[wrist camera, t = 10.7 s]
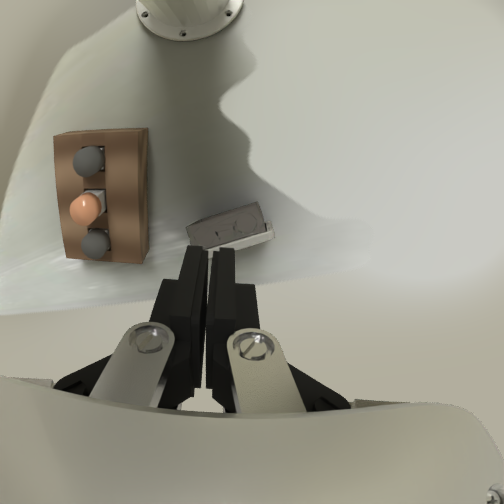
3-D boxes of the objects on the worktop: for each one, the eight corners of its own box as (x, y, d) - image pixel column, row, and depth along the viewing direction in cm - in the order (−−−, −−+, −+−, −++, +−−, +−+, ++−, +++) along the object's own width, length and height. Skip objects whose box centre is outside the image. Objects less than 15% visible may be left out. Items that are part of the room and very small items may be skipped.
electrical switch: (203, 247, 41) (194, 279, 32) (189, 210, 39) (175, 234, 30) (272, 225, 40) (281, 253, 31) (260, 188, 38) (266, 205, 29)
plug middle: (89, 183, 33) (68, 197, 28) (112, 183, 34) (93, 198, 29) (91, 207, 35) (71, 225, 30) (113, 208, 35) (96, 226, 30)
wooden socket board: (68, 131, 32) (53, 136, 28) (147, 128, 33) (138, 131, 29) (78, 244, 39) (66, 258, 36) (149, 249, 40) (141, 263, 37)
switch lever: (93, 141, 33) (72, 149, 28) (116, 140, 33) (97, 147, 28) (94, 166, 34) (73, 177, 29) (116, 165, 34) (98, 177, 29)
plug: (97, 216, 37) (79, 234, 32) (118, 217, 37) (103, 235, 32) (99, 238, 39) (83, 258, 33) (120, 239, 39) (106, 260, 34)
